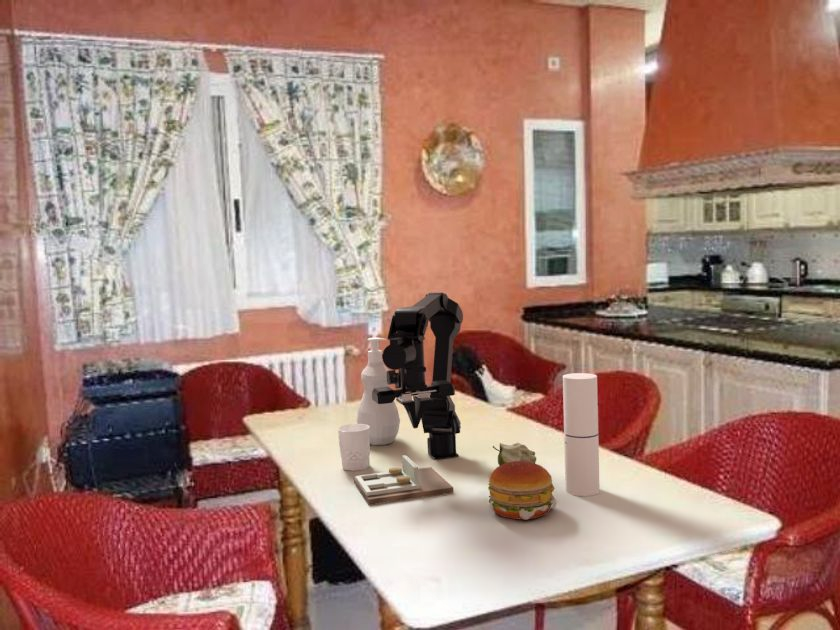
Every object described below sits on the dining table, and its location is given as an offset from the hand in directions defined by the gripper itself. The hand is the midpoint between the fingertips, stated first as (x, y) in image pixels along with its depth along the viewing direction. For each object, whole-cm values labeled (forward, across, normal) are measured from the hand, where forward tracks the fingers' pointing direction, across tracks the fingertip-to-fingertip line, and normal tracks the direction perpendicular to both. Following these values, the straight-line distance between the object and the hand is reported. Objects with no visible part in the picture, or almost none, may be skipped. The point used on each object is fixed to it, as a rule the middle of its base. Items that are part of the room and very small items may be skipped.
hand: (415, 428), depth 167 cm
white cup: (+12, +11, -15) cm, 22 cm away
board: (+12, +6, +6) cm, 14 cm away
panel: (+10, +9, +5) cm, 15 cm away
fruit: (+12, -23, +6) cm, 26 cm away
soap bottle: (+12, 0, -35) cm, 37 cm away
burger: (+12, -12, +30) cm, 35 cm away
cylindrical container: (+12, -29, +25) cm, 40 cm away
